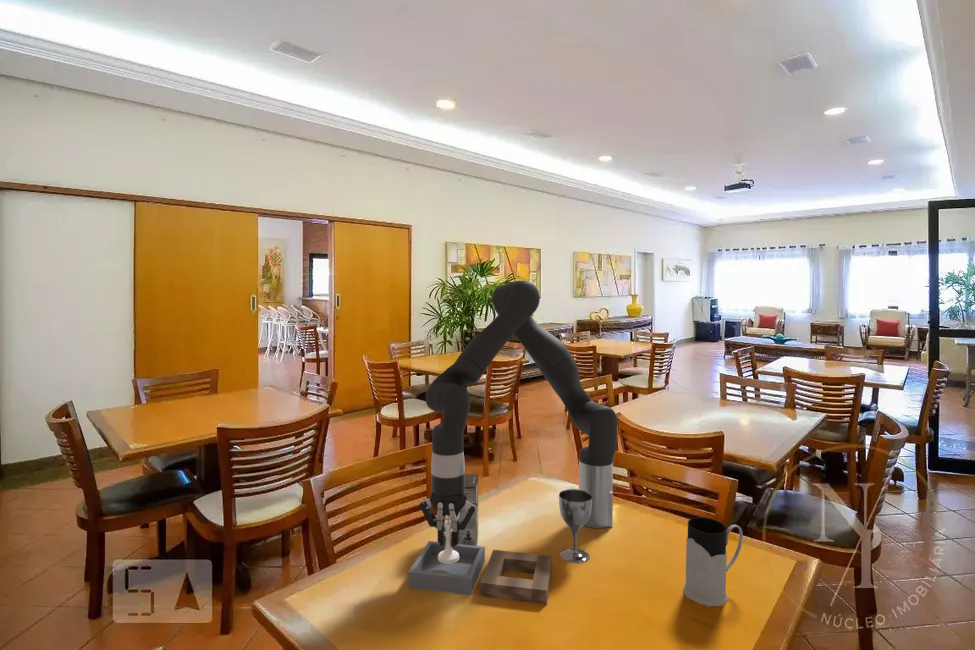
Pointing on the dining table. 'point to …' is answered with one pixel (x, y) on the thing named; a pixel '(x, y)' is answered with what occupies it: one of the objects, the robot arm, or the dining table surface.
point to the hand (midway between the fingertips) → (448, 544)
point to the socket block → (516, 587)
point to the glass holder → (708, 561)
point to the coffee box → (471, 529)
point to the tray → (447, 569)
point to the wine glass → (575, 520)
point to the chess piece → (448, 546)
